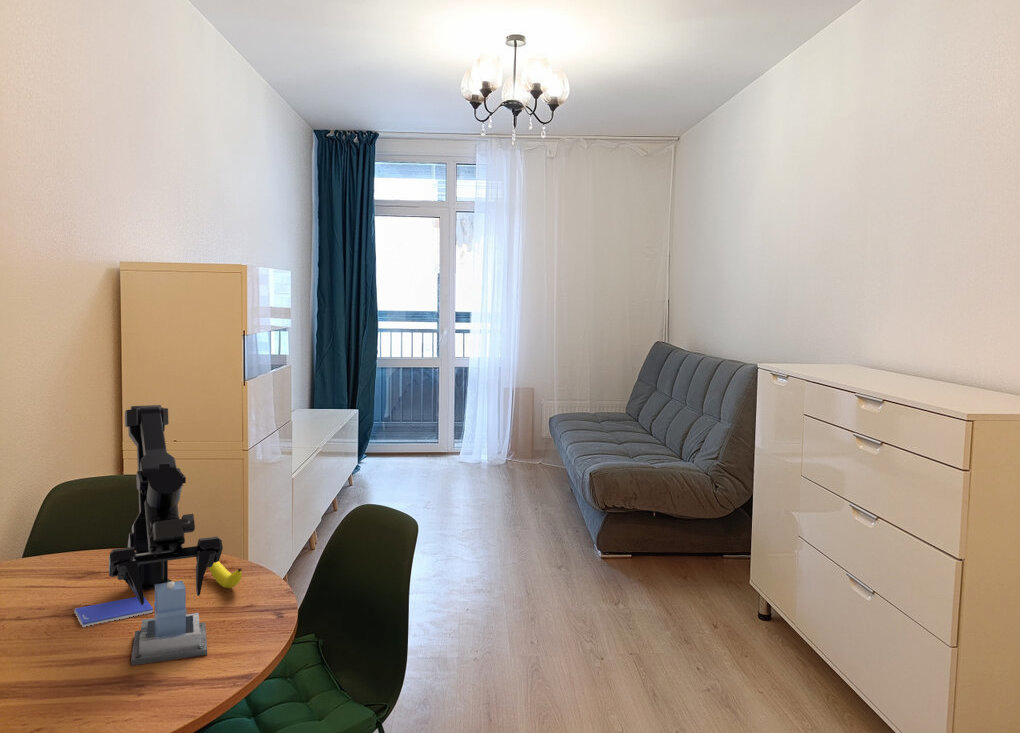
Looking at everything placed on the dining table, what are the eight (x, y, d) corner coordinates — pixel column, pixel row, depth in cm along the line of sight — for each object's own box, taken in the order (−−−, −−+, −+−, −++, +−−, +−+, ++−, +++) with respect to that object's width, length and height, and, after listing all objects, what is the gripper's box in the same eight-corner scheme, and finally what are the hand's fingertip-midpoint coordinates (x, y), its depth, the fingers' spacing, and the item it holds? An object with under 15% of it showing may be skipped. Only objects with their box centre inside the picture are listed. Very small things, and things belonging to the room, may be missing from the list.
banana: (213, 570, 175) (213, 543, 174) (247, 596, 160) (247, 567, 160) (200, 573, 173) (200, 546, 172) (233, 600, 158) (233, 570, 158)
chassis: (135, 636, 140) (135, 617, 140) (205, 627, 145) (205, 609, 145) (131, 665, 129) (131, 645, 129) (207, 654, 134) (207, 635, 134)
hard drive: (82, 622, 143) (153, 607, 151) (74, 607, 149) (142, 594, 157) (82, 630, 143) (153, 615, 151) (74, 615, 150) (142, 601, 157)
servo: (154, 636, 138) (154, 577, 137) (181, 631, 141) (181, 573, 140) (158, 649, 133) (158, 588, 132) (186, 644, 136) (186, 584, 135)
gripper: (109, 505, 133) (114, 587, 125) (220, 494, 143) (232, 570, 135) (106, 536, 141) (111, 616, 132) (213, 524, 151) (223, 597, 142)
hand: (171, 599), depth 135 cm, fingers open, 9 cm apart
